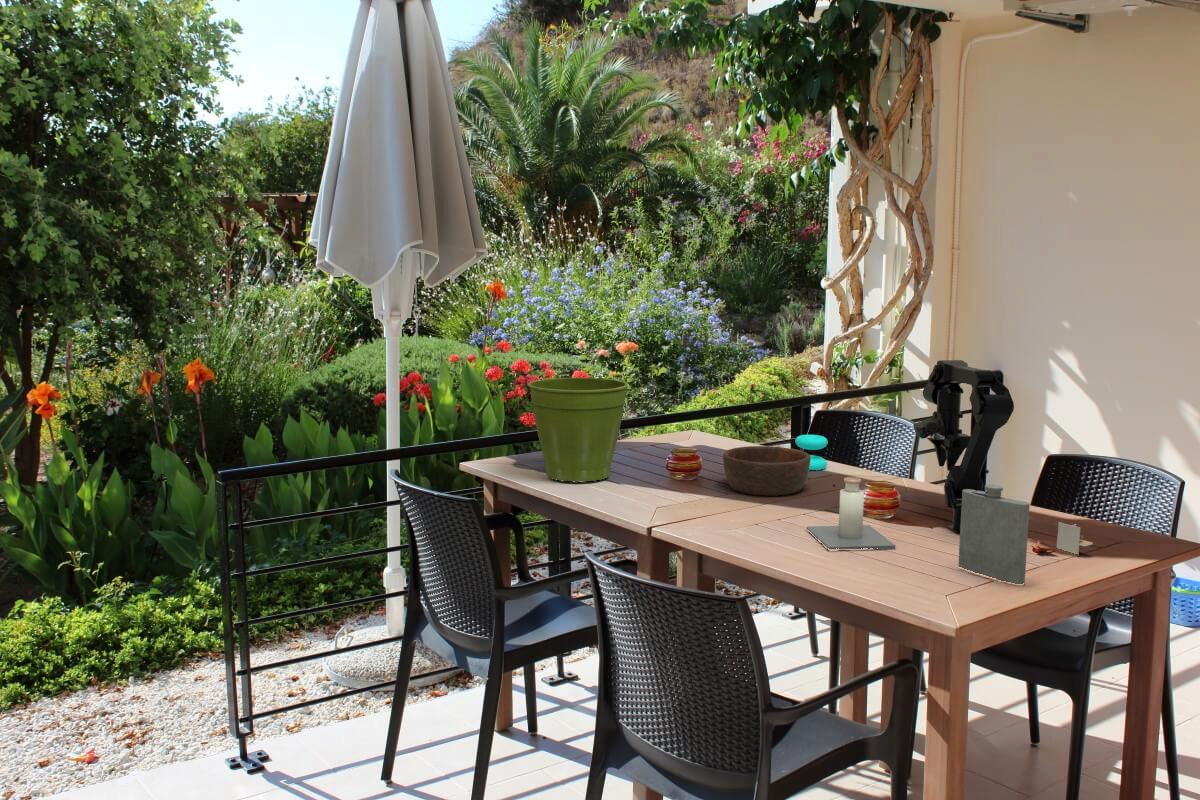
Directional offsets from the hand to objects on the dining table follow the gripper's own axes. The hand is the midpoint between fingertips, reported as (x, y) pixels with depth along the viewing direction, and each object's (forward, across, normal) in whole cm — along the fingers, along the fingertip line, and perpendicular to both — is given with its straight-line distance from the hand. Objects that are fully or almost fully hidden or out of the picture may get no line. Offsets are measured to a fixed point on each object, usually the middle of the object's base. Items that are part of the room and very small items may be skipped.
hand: (945, 468), depth 279 cm
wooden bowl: (+13, -36, -38) cm, 54 cm away
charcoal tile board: (+13, +18, -31) cm, 38 cm away
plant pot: (+13, -56, -91) cm, 107 cm away
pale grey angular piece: (+14, +34, +16) cm, 40 cm away
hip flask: (+13, +48, -10) cm, 51 cm away
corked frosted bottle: (+12, +18, -31) cm, 38 cm away
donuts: (+13, -62, -17) cm, 66 cm away
